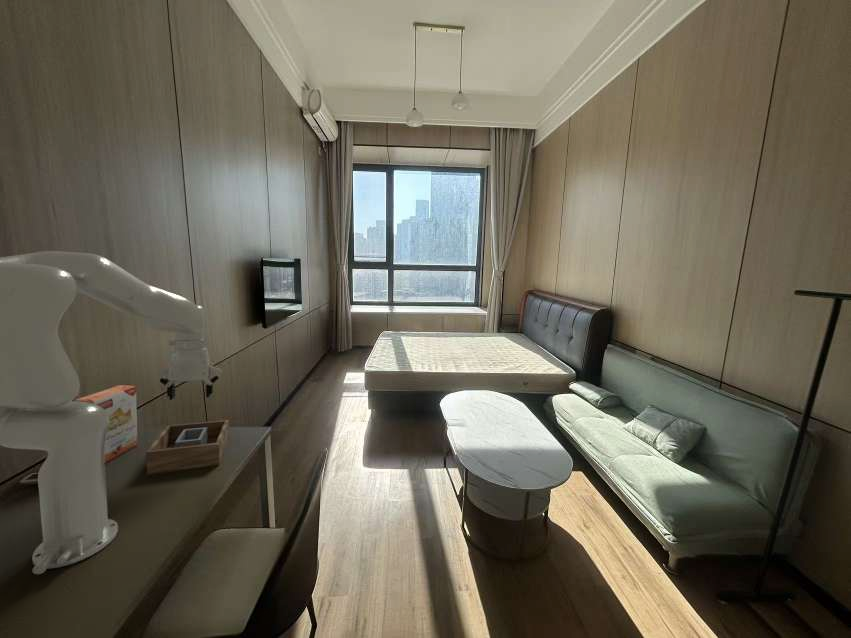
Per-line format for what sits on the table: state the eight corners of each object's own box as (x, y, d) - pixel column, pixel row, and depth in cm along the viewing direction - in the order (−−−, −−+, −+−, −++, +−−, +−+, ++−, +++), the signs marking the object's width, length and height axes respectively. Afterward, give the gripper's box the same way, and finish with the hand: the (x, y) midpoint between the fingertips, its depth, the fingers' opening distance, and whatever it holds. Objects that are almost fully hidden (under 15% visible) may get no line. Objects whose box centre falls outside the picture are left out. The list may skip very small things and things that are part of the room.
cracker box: (97, 469, 96) (93, 400, 94) (77, 467, 96) (72, 399, 94) (139, 445, 110) (137, 385, 108) (121, 444, 110) (119, 384, 108)
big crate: (219, 465, 102) (219, 444, 101) (147, 475, 95) (146, 452, 94) (228, 438, 119) (228, 419, 118) (168, 445, 112) (167, 425, 111)
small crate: (201, 457, 104) (200, 439, 103) (175, 460, 101) (175, 442, 101) (207, 443, 112) (207, 427, 111) (184, 446, 109) (183, 429, 109)
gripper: (151, 347, 96) (152, 403, 97) (219, 346, 102) (220, 399, 104) (160, 342, 103) (161, 395, 104) (224, 341, 109) (224, 391, 111)
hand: (190, 397), depth 104 cm, fingers open, 9 cm apart
